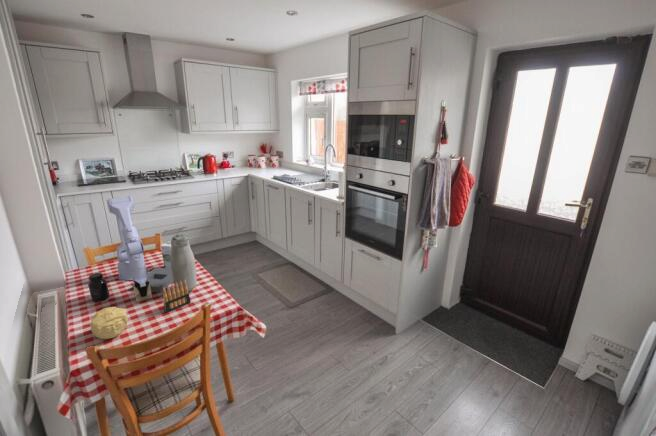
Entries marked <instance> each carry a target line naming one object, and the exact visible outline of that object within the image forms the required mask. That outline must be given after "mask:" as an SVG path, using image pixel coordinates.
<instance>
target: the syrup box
mask: <svg viewBox="0 0 656 436" xmlns="http://www.w3.org/2000/svg"><path fill="white" fill-rule="evenodd" d="M160 249H161V255H162V260H163V267H164V268H167V269H171V261H170V259H171V241H165V242H164V243H162V244H161V245H160Z"/></svg>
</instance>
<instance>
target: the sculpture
mask: <svg viewBox="0 0 656 436" xmlns="http://www.w3.org/2000/svg"><path fill="white" fill-rule="evenodd" d="M128 320H129V319H128V315H127V310H126V308H123V307H116V306H110V307H105V308H102V309H101V310H98V311H97V312H96V313H95V314H94V315H93V316H92V318H91V320H90V330H91V332H92V334H93V335H94V336H95V337H96V338H97V339H101V340H110V339H113V338H116V337H118V336H120V335H121V334H122V333H123V332H124V331H125V329H126V327H127V326H128V325H127V324H128V323H129V321H128Z"/></svg>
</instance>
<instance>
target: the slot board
mask: <svg viewBox="0 0 656 436" xmlns="http://www.w3.org/2000/svg"><path fill="white" fill-rule="evenodd" d="M148 273H150V276H148V277H147V279H146V281H149V284H150V289H151V293H152V292H153V293H161V292H163V287H164V288H165V289H167V286H169V285H172V284H173V283H174V280H173V274H172V269H167V268H163V267H155V268H154V269H152V270H151V271H149V272H148ZM133 284H135V283H134V282H133ZM133 284H132V285H131V286H132V290H133V291H134V287H133Z"/></svg>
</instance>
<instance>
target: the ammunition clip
mask: <svg viewBox="0 0 656 436" xmlns="http://www.w3.org/2000/svg"><path fill="white" fill-rule="evenodd" d="M170 285H171V286H169V285H168V286H167V287H166V288H164V287H163V291H162V298H163V308H164V309H163V310H164V313H165V314H168V313H170V312H173V311H175V310H177V309H180V308H182V307H184V306H187V305H189V304H191V297H190V294H189V291H188V288H187V284H186V281H185V279H184V289H183V285H182V282H181V281H180V283H179V286H180V291H179V287H178V284H177V282H176V284H174V283H171V284H170Z"/></svg>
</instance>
